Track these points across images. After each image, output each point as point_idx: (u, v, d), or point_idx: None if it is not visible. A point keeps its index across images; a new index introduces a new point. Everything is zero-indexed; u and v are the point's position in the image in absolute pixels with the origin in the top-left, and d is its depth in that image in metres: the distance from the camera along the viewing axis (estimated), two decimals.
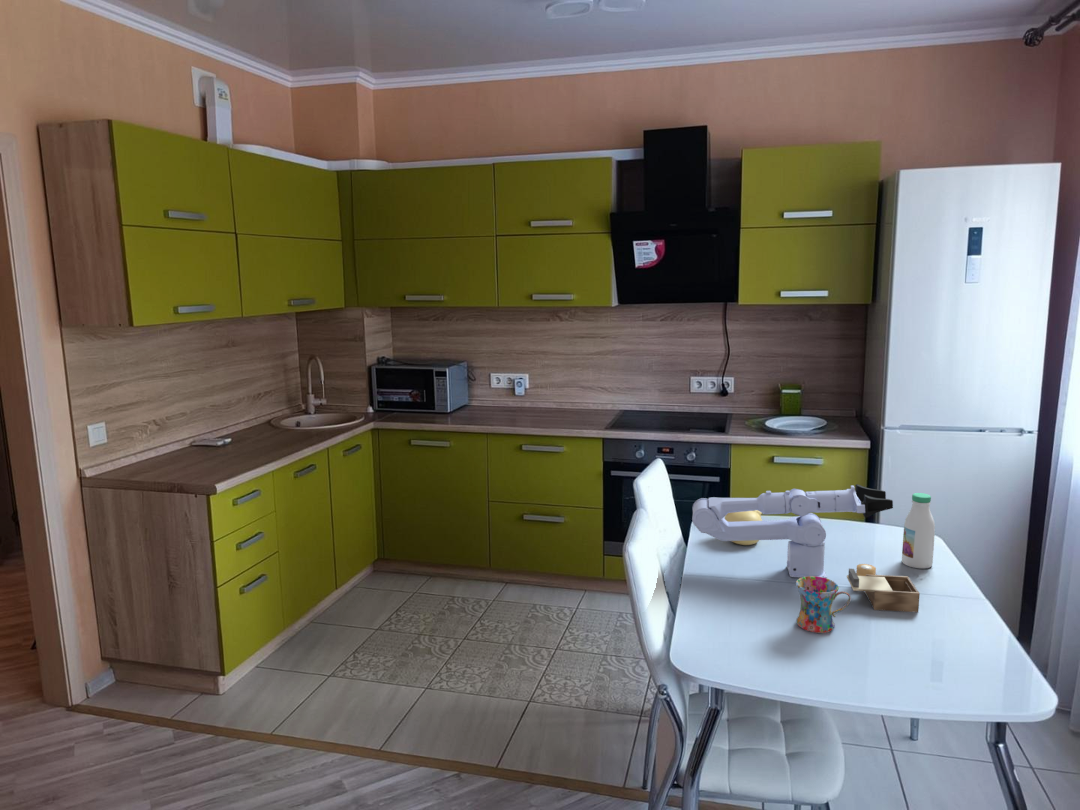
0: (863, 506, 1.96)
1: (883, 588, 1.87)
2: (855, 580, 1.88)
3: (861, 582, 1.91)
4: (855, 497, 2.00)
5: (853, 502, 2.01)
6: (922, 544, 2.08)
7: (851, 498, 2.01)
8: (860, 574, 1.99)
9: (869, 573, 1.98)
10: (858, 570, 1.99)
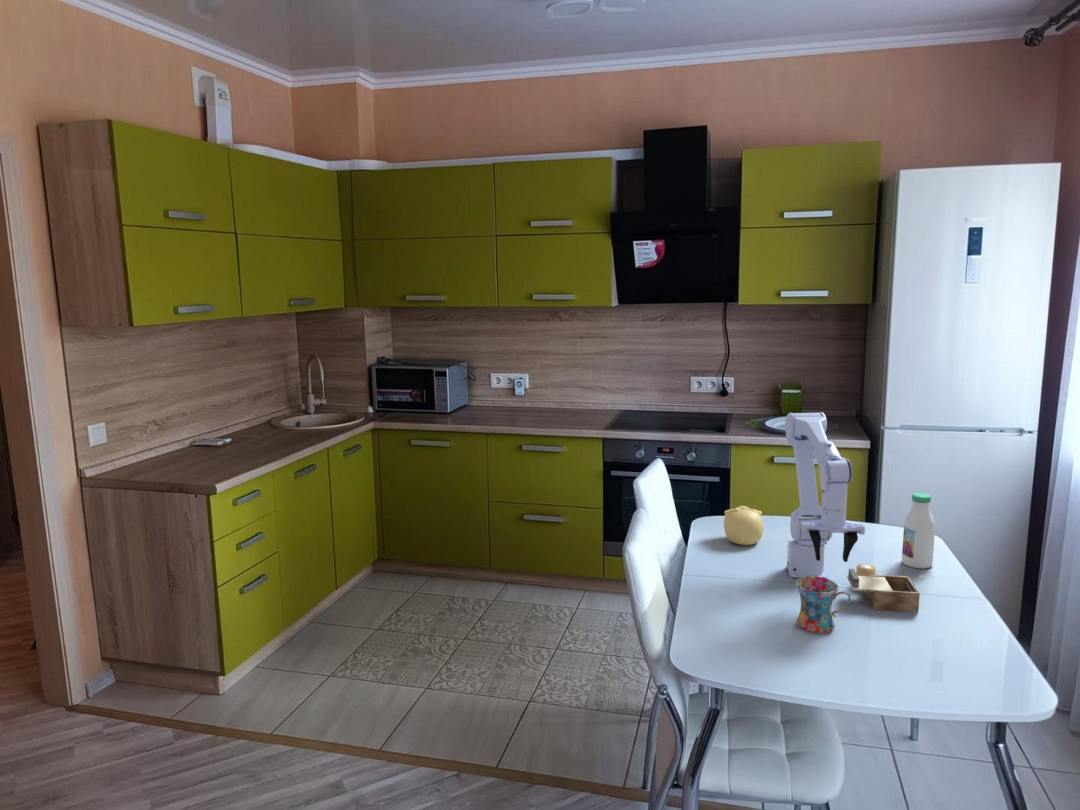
0: (802, 530, 1.91)
1: (883, 588, 1.87)
2: (855, 580, 1.88)
3: (861, 582, 1.91)
4: (819, 528, 1.88)
5: (821, 524, 1.90)
6: (922, 544, 2.08)
7: (823, 524, 1.89)
8: (860, 574, 1.99)
9: (869, 573, 1.98)
10: (858, 570, 1.99)
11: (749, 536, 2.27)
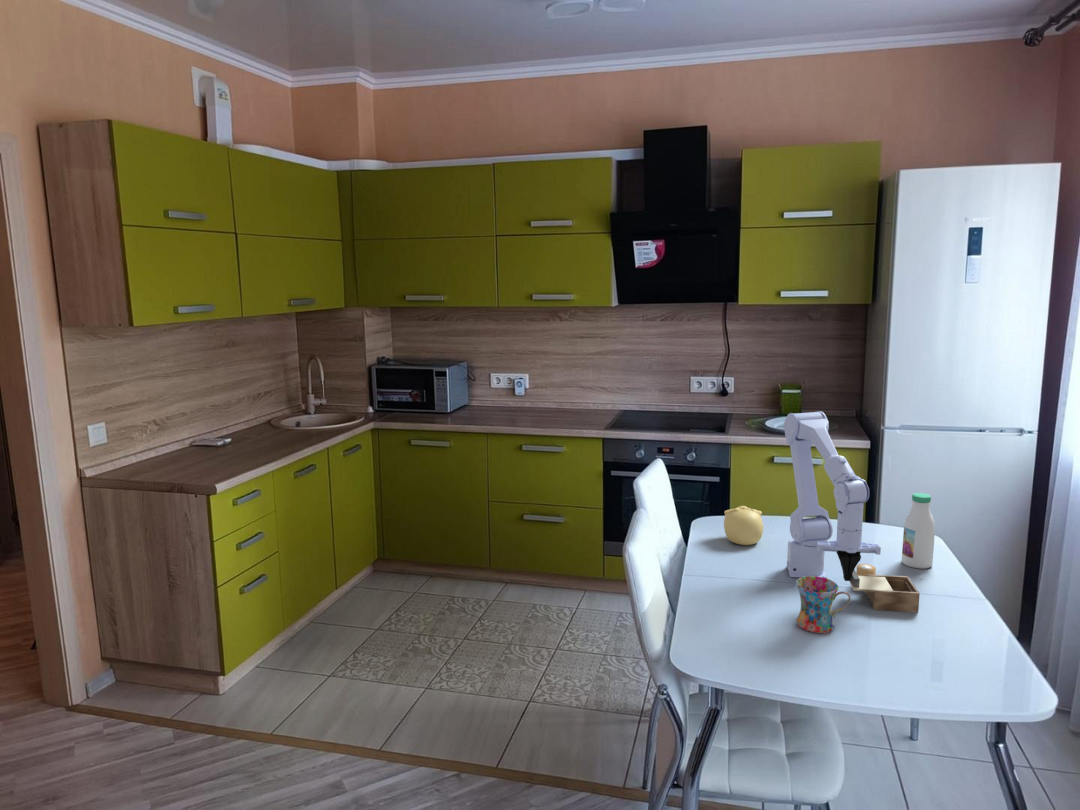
0: (818, 550, 1.91)
1: (883, 588, 1.87)
2: (855, 580, 1.88)
3: (862, 582, 1.91)
4: (835, 548, 1.89)
5: (836, 544, 1.90)
6: (922, 544, 2.08)
7: (839, 544, 1.89)
8: (860, 574, 1.99)
9: (869, 573, 1.98)
10: (858, 570, 1.99)
11: (749, 536, 2.27)
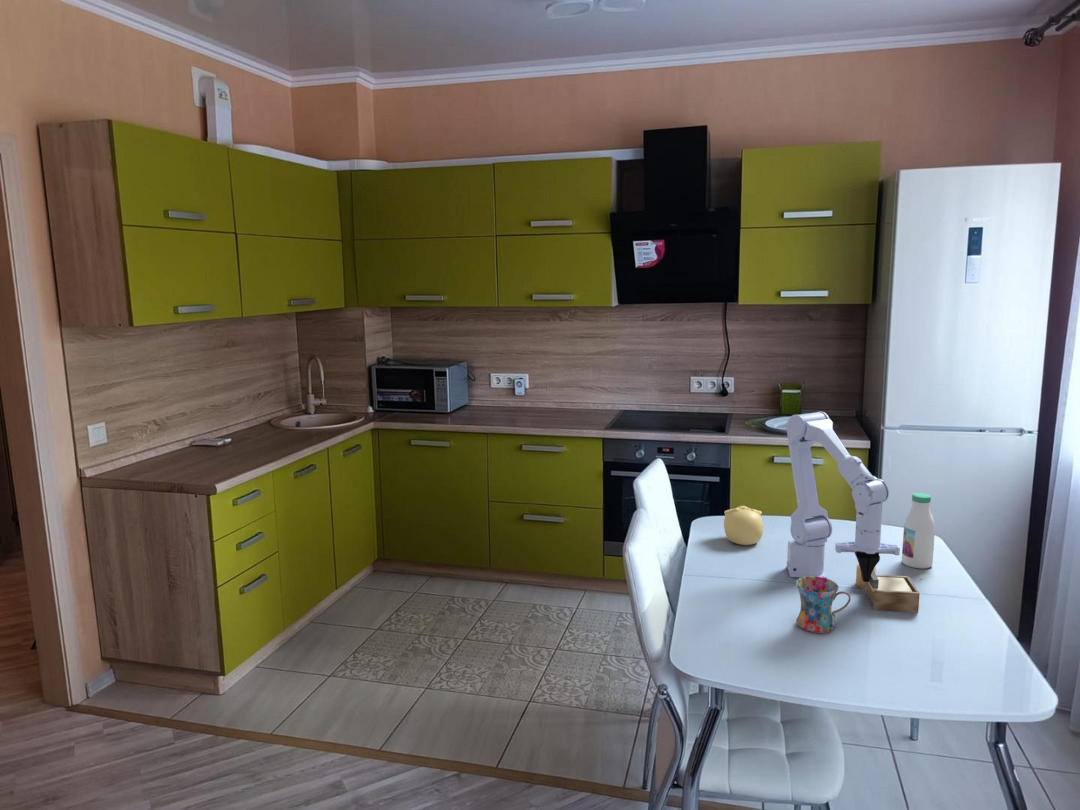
0: (836, 550, 1.90)
1: (903, 589, 1.86)
2: (874, 581, 1.87)
3: (881, 583, 1.90)
4: (854, 548, 1.88)
5: (855, 545, 1.89)
6: (922, 544, 2.08)
7: (858, 545, 1.88)
8: (860, 574, 1.99)
9: None
10: (858, 570, 1.99)
11: (749, 536, 2.27)
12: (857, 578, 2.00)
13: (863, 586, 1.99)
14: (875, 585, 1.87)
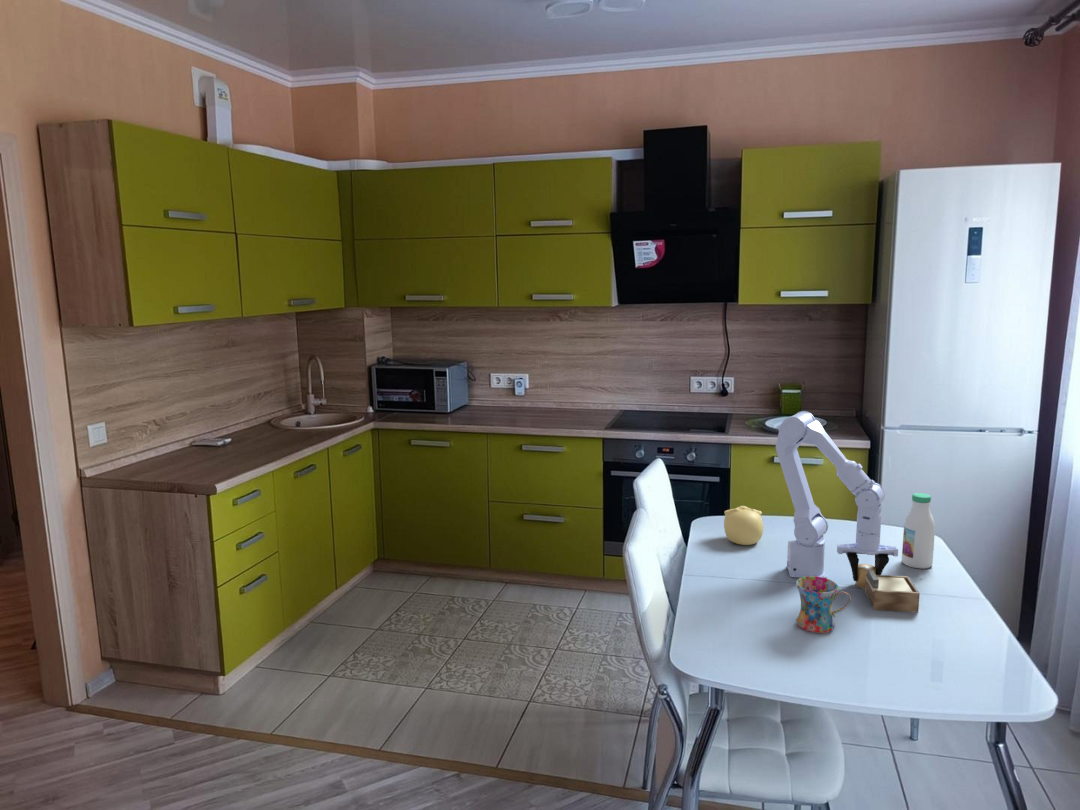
0: (838, 552, 1.99)
1: (903, 589, 1.86)
2: (875, 581, 1.87)
3: (881, 583, 1.90)
4: (854, 550, 1.97)
5: (856, 546, 1.99)
6: (922, 544, 2.08)
7: (858, 546, 1.98)
8: (860, 574, 1.99)
9: None
10: (858, 570, 1.99)
11: (749, 536, 2.27)
12: None
13: (863, 586, 1.99)
14: (875, 585, 1.87)
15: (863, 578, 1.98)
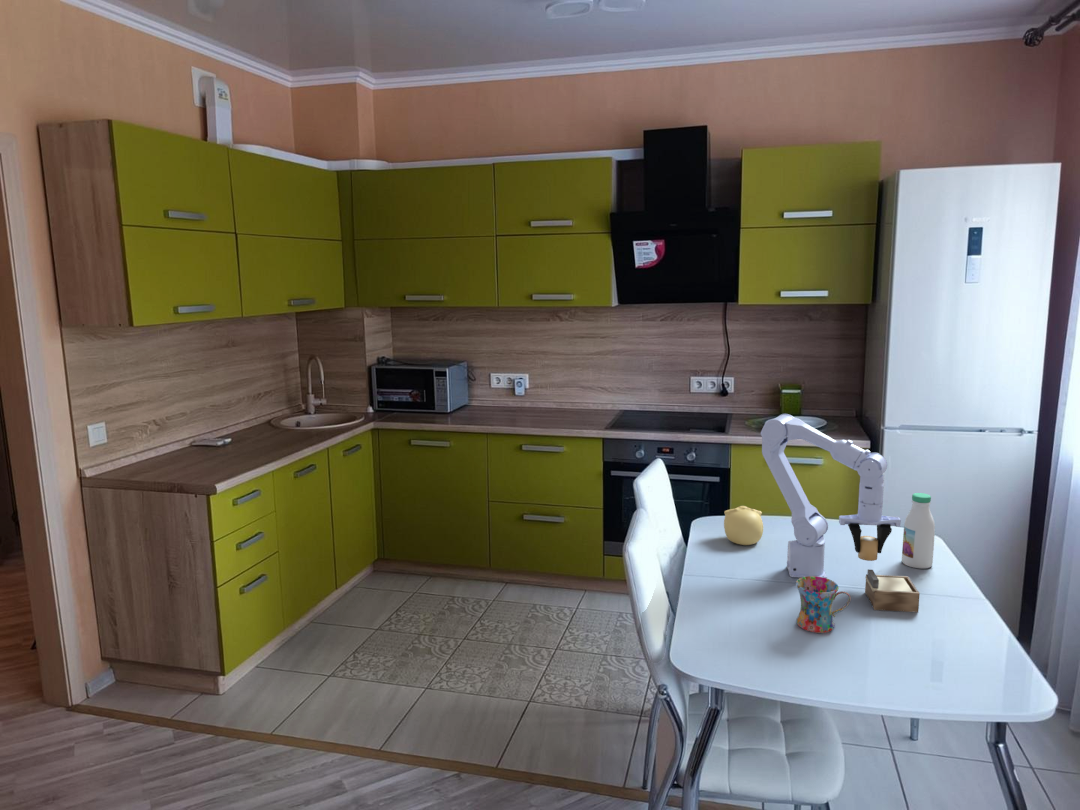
0: (840, 523, 1.98)
1: (903, 589, 1.86)
2: (875, 581, 1.87)
3: (881, 583, 1.90)
4: (857, 521, 1.96)
5: (858, 517, 1.97)
6: (922, 544, 2.08)
7: (861, 517, 1.96)
8: (862, 546, 1.97)
9: (872, 544, 1.96)
10: (860, 542, 1.97)
11: (749, 536, 2.27)
12: None
13: (866, 558, 1.97)
14: (875, 585, 1.87)
15: (866, 550, 1.97)
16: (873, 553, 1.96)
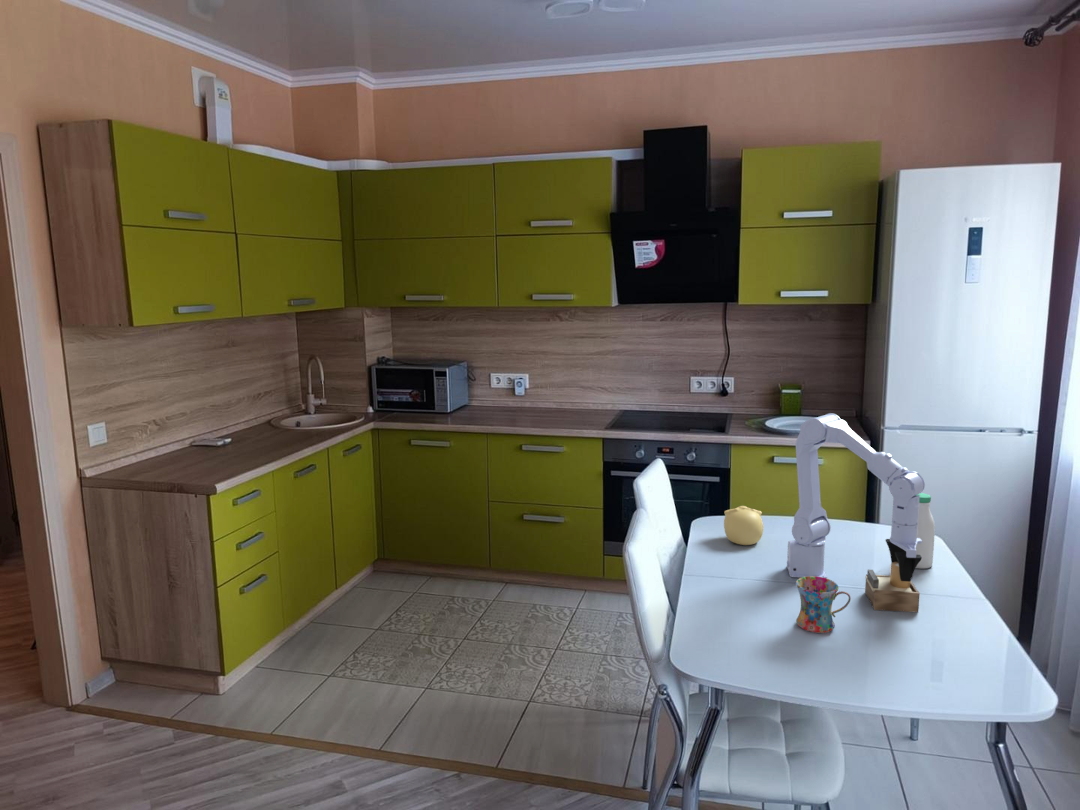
0: (914, 556, 1.80)
1: (903, 589, 1.86)
2: (875, 581, 1.87)
3: (881, 583, 1.90)
4: (916, 545, 1.84)
5: (908, 543, 1.84)
6: (922, 544, 2.08)
7: (912, 541, 1.84)
8: None
9: None
10: None
11: (749, 536, 2.27)
12: None
13: (910, 584, 1.88)
14: (875, 585, 1.87)
15: None
16: None
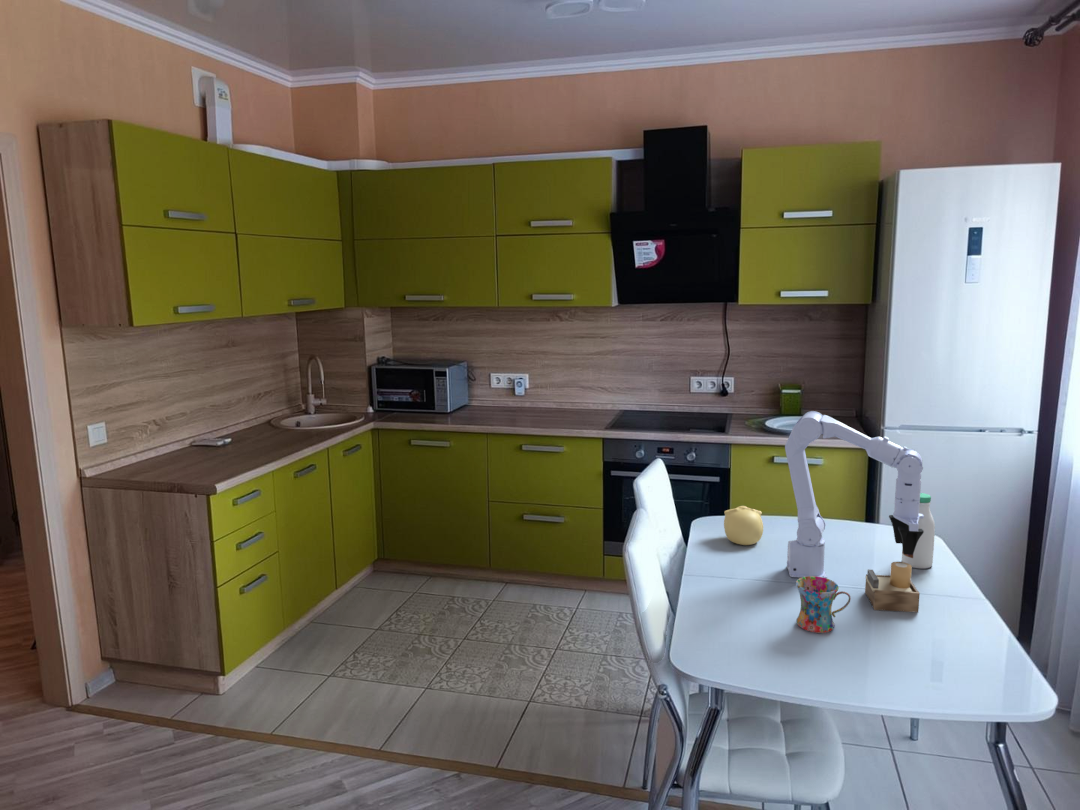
0: (917, 529, 1.89)
1: (903, 589, 1.86)
2: (875, 581, 1.87)
3: (881, 583, 1.90)
4: (918, 520, 1.92)
5: (911, 517, 1.93)
6: (922, 544, 2.08)
7: (915, 515, 1.93)
8: (909, 573, 1.87)
9: None
10: (907, 571, 1.86)
11: (749, 536, 2.27)
12: (905, 580, 1.87)
13: (910, 584, 1.88)
14: (875, 585, 1.87)
15: (910, 576, 1.87)
16: None
